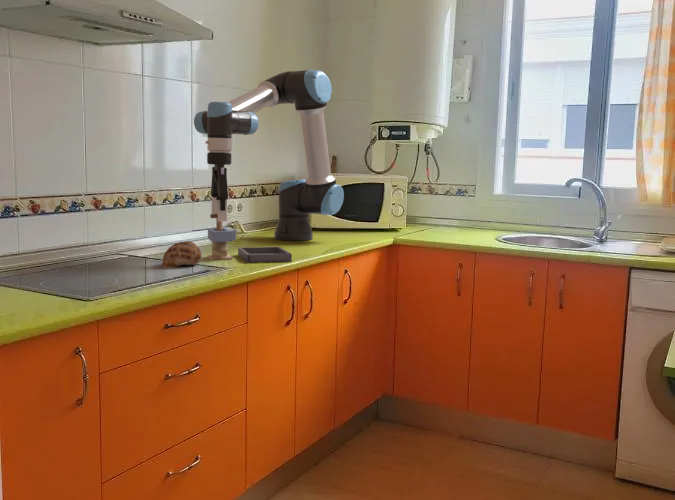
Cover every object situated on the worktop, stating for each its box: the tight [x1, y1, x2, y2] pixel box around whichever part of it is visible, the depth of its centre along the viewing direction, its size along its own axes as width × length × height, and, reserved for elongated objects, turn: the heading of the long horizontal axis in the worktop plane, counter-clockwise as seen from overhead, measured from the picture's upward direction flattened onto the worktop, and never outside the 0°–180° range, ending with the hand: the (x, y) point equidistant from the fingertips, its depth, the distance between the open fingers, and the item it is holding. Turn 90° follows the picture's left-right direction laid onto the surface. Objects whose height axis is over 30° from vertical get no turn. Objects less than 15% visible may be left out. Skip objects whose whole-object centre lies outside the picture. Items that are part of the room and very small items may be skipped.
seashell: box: [160, 240, 203, 268], centre depth 217 cm, size 10×9×10 cm
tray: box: [237, 246, 293, 264], centre depth 234 cm, size 14×17×2 cm
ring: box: [207, 227, 237, 243], centre depth 232 cm, size 10×8×3 cm
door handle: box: [206, 213, 233, 261], centre depth 232 cm, size 7×7×14 cm
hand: (218, 219), depth 230 cm, fingers open, 13 cm apart
